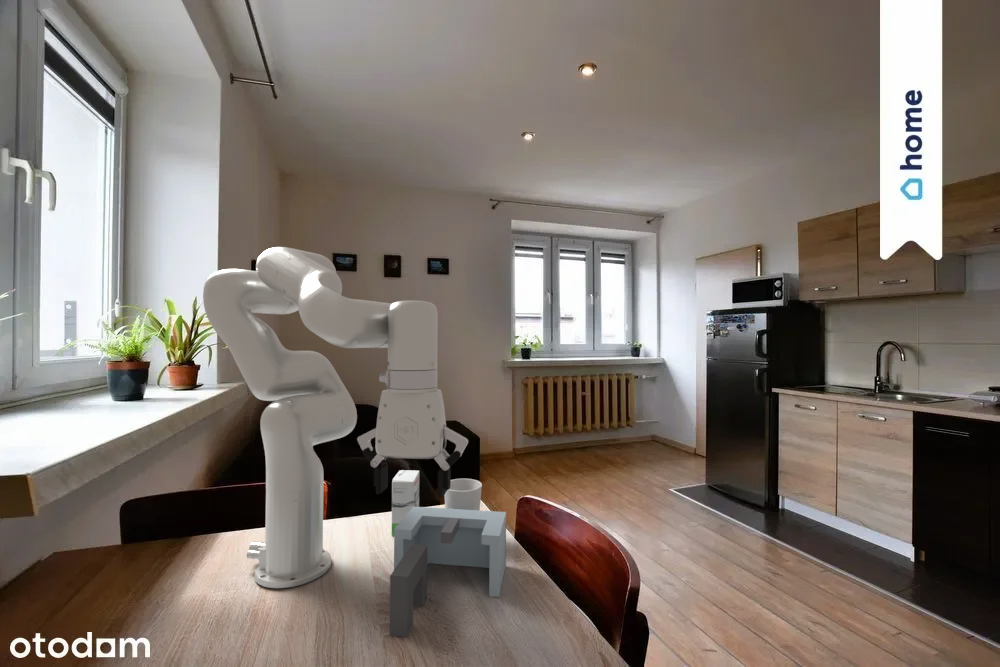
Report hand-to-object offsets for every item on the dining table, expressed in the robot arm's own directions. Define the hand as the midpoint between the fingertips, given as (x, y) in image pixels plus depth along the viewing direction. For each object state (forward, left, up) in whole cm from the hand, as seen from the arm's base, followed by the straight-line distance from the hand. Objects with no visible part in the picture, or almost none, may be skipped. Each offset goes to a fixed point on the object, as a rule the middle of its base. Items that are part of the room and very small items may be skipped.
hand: (412, 492), depth 67 cm
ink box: (-11, +30, -19) cm, 37 cm away
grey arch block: (0, 0, -19) cm, 19 cm away
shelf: (+4, +12, -19) cm, 22 cm away
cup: (+3, +25, -19) cm, 31 cm away
